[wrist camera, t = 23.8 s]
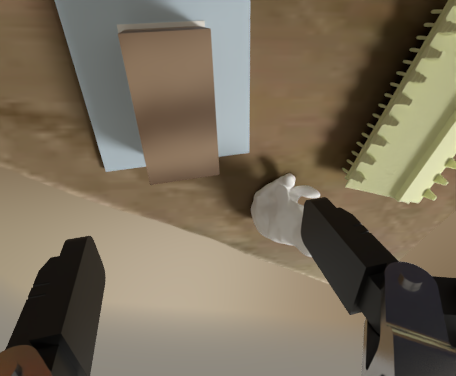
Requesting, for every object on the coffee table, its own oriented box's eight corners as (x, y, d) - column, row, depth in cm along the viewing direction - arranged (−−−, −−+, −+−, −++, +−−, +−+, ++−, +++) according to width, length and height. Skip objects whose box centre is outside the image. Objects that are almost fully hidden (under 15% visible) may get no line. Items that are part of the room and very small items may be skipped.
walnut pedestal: (124, 29, 24) (117, 33, 19) (198, 25, 25) (210, 28, 20) (150, 156, 30) (150, 184, 26) (208, 149, 32) (219, 174, 27)
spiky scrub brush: (438, -33, 29) (514, -45, 23) (512, 18, 34) (591, 19, 28) (323, 178, 40) (354, 207, 34) (392, 193, 44) (430, 221, 38)
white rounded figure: (237, 208, 38) (267, 277, 28) (276, 159, 36) (325, 215, 26) (270, 225, 41) (308, 292, 31) (309, 180, 39) (364, 238, 29)
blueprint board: (40, -59, 21) (35, -62, 20) (247, -58, 24) (251, -61, 23) (107, 167, 31) (105, 172, 30) (246, 149, 34) (249, 153, 33)
